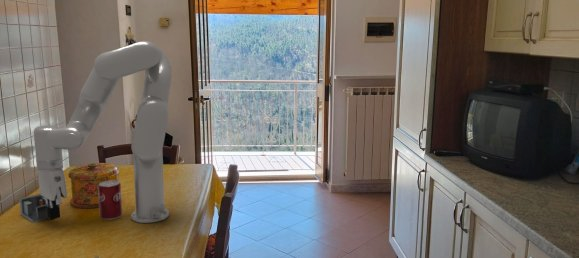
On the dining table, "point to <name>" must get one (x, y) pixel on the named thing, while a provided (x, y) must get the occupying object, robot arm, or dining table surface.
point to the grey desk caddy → (31, 207)
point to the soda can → (110, 200)
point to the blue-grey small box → (41, 210)
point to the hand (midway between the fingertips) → (54, 217)
